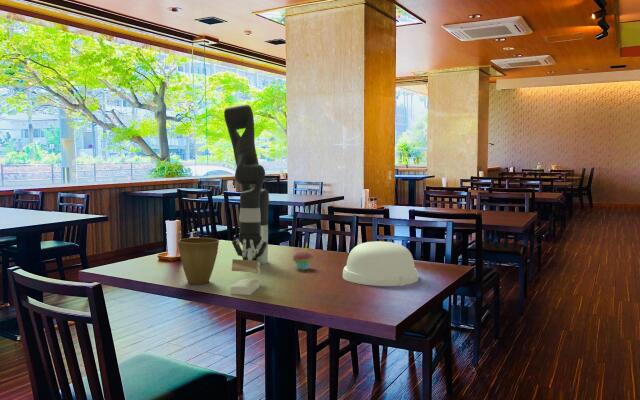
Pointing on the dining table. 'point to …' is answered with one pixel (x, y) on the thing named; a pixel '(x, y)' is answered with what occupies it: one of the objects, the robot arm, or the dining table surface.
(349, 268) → the dome cover
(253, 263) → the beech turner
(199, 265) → the plant pot
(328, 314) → the dining table surface
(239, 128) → the robot arm
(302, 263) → the cupcake
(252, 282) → the pink white upright block
